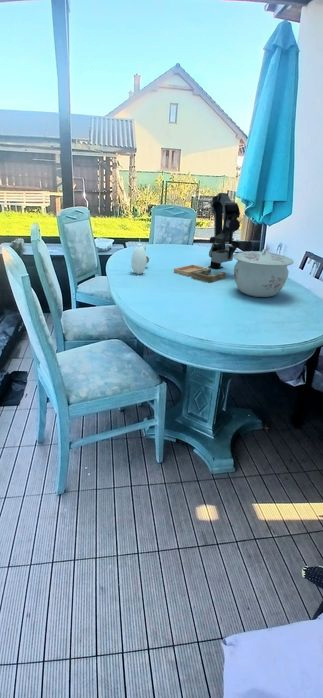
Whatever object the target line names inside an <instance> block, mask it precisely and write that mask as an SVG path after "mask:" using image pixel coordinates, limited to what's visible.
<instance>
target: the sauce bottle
mask: <svg viewBox="0 0 323 698" xmlns="http://www.w3.org/2000/svg"><path fill="white" fill-rule="evenodd" d="M138 240H139V241H138V243H137V244H136V246H135V248H134V250H133V253H132V256H131V263H130V264H131V267H132V270H133V272H135V274H137V275H140V274H143V272H145V270H146V268H147V265H146V264H148V263H147V258H146V256H147V254H146V249H145V250H144V248H145V247H143V244H142V243H141V239H140V238H139V239H138Z"/></svg>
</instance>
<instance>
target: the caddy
mask: <svg viewBox="0 0 323 698" xmlns="http://www.w3.org/2000/svg"><path fill="white" fill-rule="evenodd" d="M230 246H231V244H225V250H220V251H214V252H212V258H211V257H210V262H211V261H212V262H216V263H221V264H222V263H228V262H232V261H233V260H234V258H233V255H234V254H233V255H232V256H231V258H230V259H228V256H229V247H230Z"/></svg>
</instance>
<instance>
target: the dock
mask: <svg viewBox="0 0 323 698" xmlns="http://www.w3.org/2000/svg"><path fill="white" fill-rule="evenodd" d="M226 274H227V273H226V272H223V271H222V272H217V273H214V274H212V268H207V269H204V270H200V271H196V272H192V276H190V277H191V279H192V278H193V280H196V279H197V281H200V282H204V283H207V282H208V284H210V282H211V283H214V282H218V281H221V280H223V279H224V280H225V279H226Z"/></svg>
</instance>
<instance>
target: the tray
mask: <svg viewBox="0 0 323 698" xmlns="http://www.w3.org/2000/svg"><path fill="white" fill-rule="evenodd" d="M204 269H208V268H207V267H204V266H199V265H196V264H189V265H185V266H181V267H180V266H179V267H175V268H173V274H177V273H178V275H181V274H182V276H185V277H191V276H192V272H196V271H200V270H204Z"/></svg>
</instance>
